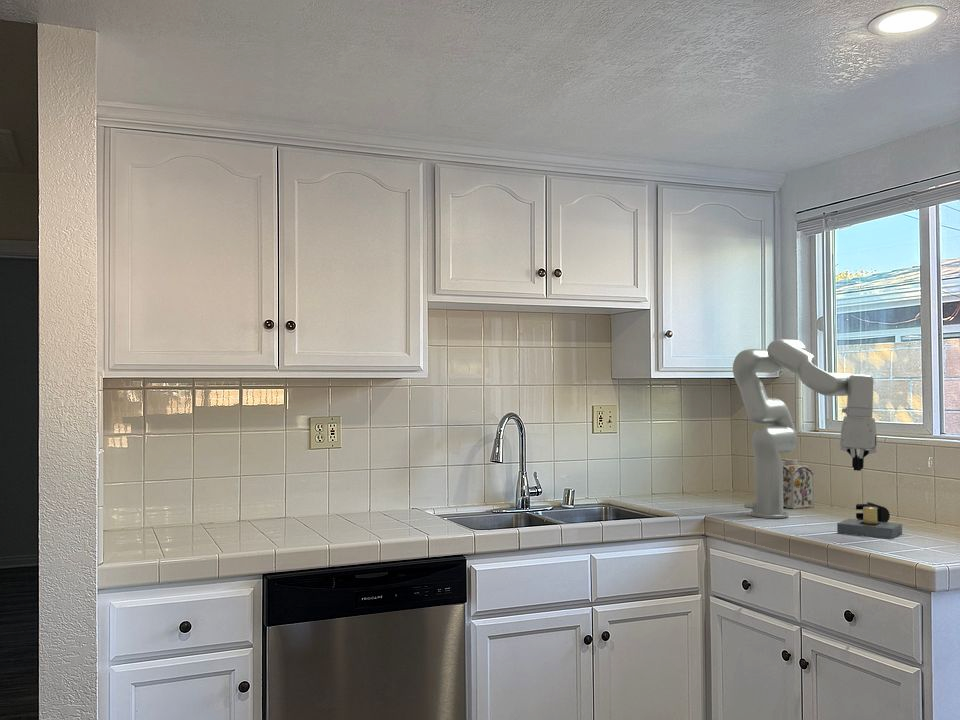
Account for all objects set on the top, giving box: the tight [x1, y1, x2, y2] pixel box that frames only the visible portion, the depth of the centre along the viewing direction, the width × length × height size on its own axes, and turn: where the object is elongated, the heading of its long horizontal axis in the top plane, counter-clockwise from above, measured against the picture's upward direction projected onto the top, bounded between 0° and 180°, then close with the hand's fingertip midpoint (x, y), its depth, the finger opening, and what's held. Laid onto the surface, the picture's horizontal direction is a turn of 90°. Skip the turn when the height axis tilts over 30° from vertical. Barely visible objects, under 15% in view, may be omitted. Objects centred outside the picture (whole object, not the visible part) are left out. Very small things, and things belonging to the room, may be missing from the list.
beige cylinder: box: [862, 507, 877, 525], centre depth 264 cm, size 4×4×8 cm
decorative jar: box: [782, 458, 815, 510], centre depth 322 cm, size 12×12×18 cm
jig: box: [836, 518, 903, 539], centre depth 264 cm, size 16×12×3 cm
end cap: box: [855, 501, 891, 522], centre depth 281 cm, size 10×7×7 cm
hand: (857, 470), depth 269 cm, fingers closed
